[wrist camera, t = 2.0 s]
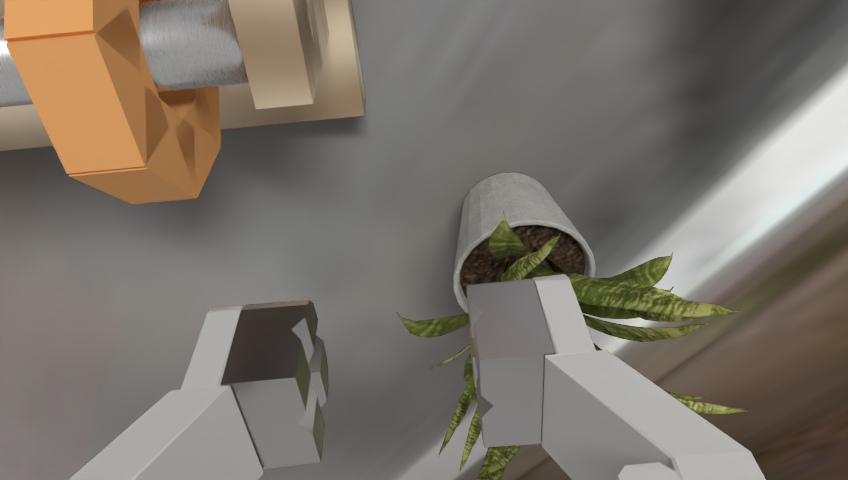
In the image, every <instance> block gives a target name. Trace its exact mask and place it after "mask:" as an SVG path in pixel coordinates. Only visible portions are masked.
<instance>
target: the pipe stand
mask: <svg viewBox="0 0 848 480" xmlns="http://www.w3.org/2000/svg"><path fill="white" fill-rule="evenodd" d="M306 1H307V4H308V8H309V13H310V18H311V23H312V30H313V36H312V33H311V30H310V24H309V19H308V18H309V17H308V16H307V15H308V13H307V7H306V2H305V0H304V2H303V0H228V3H229V7H230V10H231V14H232V18H233V22H234V26H235V30H236V34H237V38H238V42H239V45H240V49H241V53H242V57H243V61H244V65H245V69H246V73H247V77H248V81H249V83H245V84H235V85H225V86H219V104H220V128H221V130H222V129H232V128H243V127H253V126H263V125H273V124H284V123H294V122H304V121H315V120H325V119H335V118H345V117H356V116H364V114H365V101H366V98H365V91H364V84H363V77H362V71H361V64H360V57H359V50H358V43H357V37H356V30H355V23H354V16H353V9H352V2H351V0H306ZM4 9H5V0H0V16H4ZM312 37H313V41H312ZM313 43H314V45H313ZM302 50H303V51H302ZM303 54H304V55H303ZM304 58H305V59H304ZM305 62H306V63H305ZM47 146H53V144H52V142H51V140H50V137H49V135H48V133H47V131H46V129H45V127H44V125H43V123H42V121H41V118H40V116H39V114H38V112H37V110H36V108H35V106H34V104H31V105H21V106H11V107H1V108H0V151H6V150H16V149H27V148H37V147H47Z"/></svg>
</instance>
